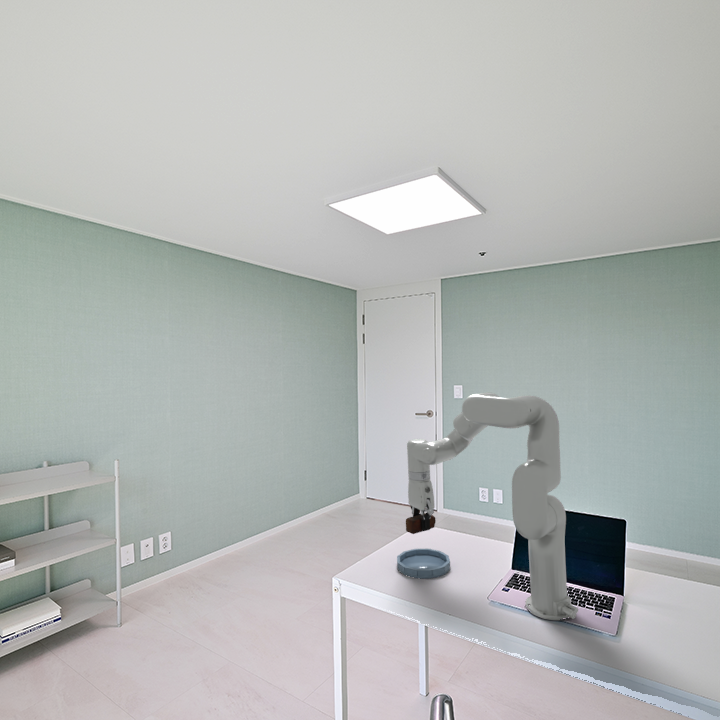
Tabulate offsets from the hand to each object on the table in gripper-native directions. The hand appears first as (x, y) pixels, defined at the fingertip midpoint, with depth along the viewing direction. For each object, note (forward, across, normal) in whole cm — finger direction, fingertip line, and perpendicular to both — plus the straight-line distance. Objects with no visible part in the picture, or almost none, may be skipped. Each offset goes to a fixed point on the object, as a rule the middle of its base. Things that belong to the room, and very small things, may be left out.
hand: (421, 527), depth 160 cm
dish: (+14, 0, 0) cm, 14 cm away
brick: (+1, 0, 0) cm, 1 cm away
